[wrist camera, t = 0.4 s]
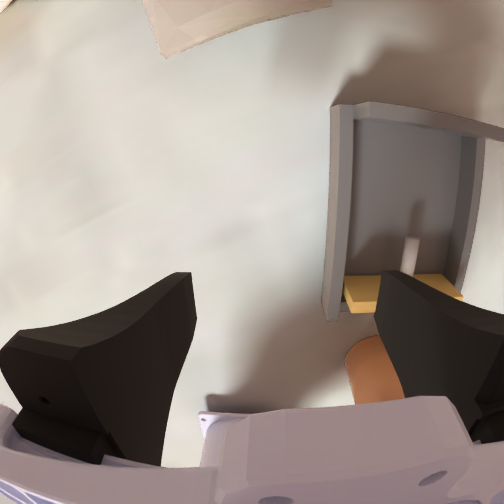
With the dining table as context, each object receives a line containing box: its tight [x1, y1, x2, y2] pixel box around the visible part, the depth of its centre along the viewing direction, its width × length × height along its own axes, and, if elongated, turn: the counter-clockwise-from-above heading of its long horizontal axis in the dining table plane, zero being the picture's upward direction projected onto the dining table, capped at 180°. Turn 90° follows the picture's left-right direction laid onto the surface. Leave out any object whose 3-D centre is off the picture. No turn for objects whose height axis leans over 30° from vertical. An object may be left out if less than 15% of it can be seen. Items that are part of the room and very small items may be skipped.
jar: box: [345, 336, 405, 405], centre depth 22 cm, size 5×5×8 cm
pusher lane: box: [321, 101, 504, 321], centre depth 18 cm, size 14×11×6 cm
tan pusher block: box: [342, 236, 463, 313], centre depth 19 cm, size 4×8×4 cm, turn 91°
